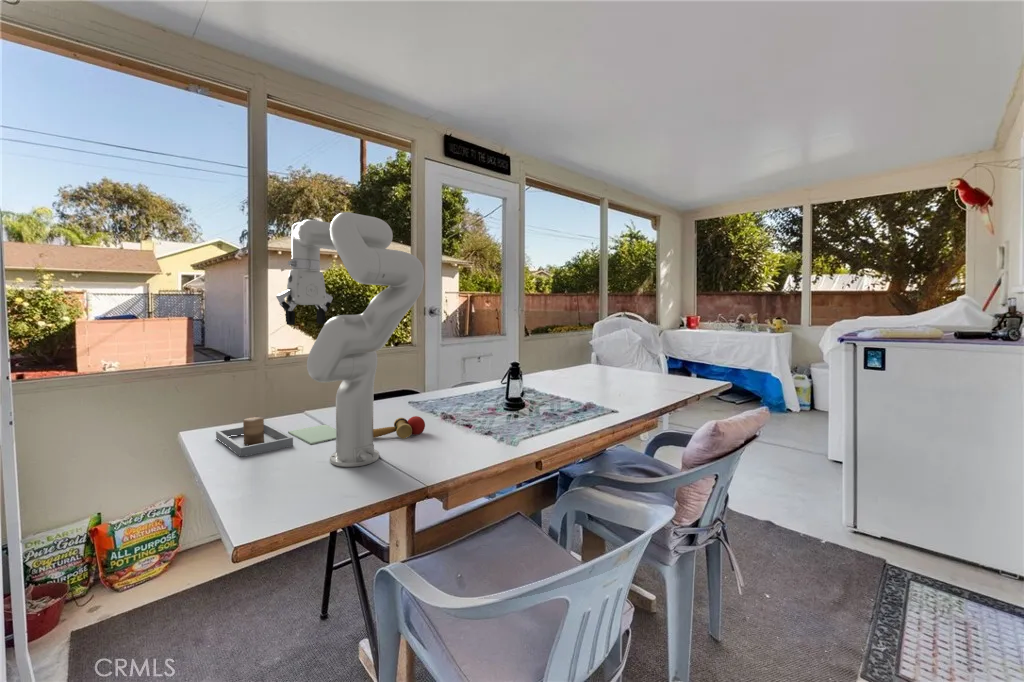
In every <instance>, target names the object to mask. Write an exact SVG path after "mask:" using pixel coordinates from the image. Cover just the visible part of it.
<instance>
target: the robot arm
mask: <svg viewBox="0 0 1024 682" xmlns="http://www.w3.org/2000/svg"><path fill="white" fill-rule="evenodd" d="M393 238H394V237H393V230H392V228H391V227H390V225H389V224H388V223H387V222H386V221H385V220H383V219H381V218H378V217H375V216H371V215H365V214H359V213H354V212H348V211H344V212H340V213H338V214H336V215H335V216H334V217H333V219H332V221H330V222H327V221H321V220H316V219H304V220H302V221H301V222H295V223H294V224H292V226H291V259H290V260H288V262H287V265H288V266H291V269H289V273H288V278H287V283H286V285H287V286H286V290H284V291H282V292H281V293H278V294H276V299H277V301H278V302H279V306H280V307H281V308H283V310H284V311H285V322H286V325H288V326H290V325H291V326H295V324H296V312H295V310H294V309H295V308H296V307H297V305H301V306H315V308H316V309H317V310H316V324H319V325H323V327H322V328H321V329H320V332H319V333H318V336H317V337H316V340H315V341H314V343H313V345H312V347H311V349H310V351H309V353H308V356H307V359H306V370H307V373H308V375H309V377H310V378H311V379H312V380H314V381H315V382H318V383H331V382H333V383H334V382H338V381H339V382H340V381H341V383H340V384H339V386H338V389H337V391H336V395H335V429H336V439H335V452H333V453H332V454H330V456H329V462H330V463H331V464H332V465H334V466H337V467H342V468H355V467H361V466H362V467H363V466H367V465H370V464H373V463H374V462H376V461H378V460H379V458H380V451H378V450H377V449H375V444H374V438H373V429H374V396H375V395H374V389H375V388H374V387H375V378H376V373H377V367H378V353H377V352H378V351H380V350H381V349H383V348H384V347H385V346H386V344H387V342H388V341H389V340H390V338H391V337H392V335H393V333H394V332H395V330H396V329H397V327H398V326H399V324H400V322H401V321H402V320H403V318H404V317H405V316H406V315H407V313H408V312H409V310H411V308H412V307H413V306H414V305H415V303H416V302H417V301H418V299H419V297H420V295H421V294H422V291H423V287H424V282H425V270H424V266H423V263H422V262H421V260H420V259H419V258H418V257H417V256H416V255H414V254H412V253H409V252H406V251H403V250H398V249H390V248H389V249H388V247H389V246H391V244H392V241H393ZM321 249H325V250H331V251H332V250H333V251H336V252H337V255H338V256H339V257H340V259H341V262H342V263H343V266H344V267H345V269H346V271H347V273H348V274H349V276H350V278H351V279H352V280H353V281H355V282H357V284H358V283H359V284H362V285H370V286H371V285H373V286H387V287H386V288H385V289H383V290H382V291H380V292H379V293H377V294H376V295H375V296H374V297H372V299H371V300H370V302H369V304H368V305H367V307H366V309H365V310H364V311H363V312H362V313H358V314H340V315H336V316H335V315H334V316H332V317H331V318H329V319H328V320H327V321H326V312H327V311H328V308H329V307H330V306H331V303H332V301H333V299H334V298H333V296H332V295H330V294H329V293H327V292H326V284H325V277H324V273H323V271H321ZM285 298H286V300H285ZM286 301H287V302H286ZM325 321H326V322H325Z"/></svg>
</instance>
